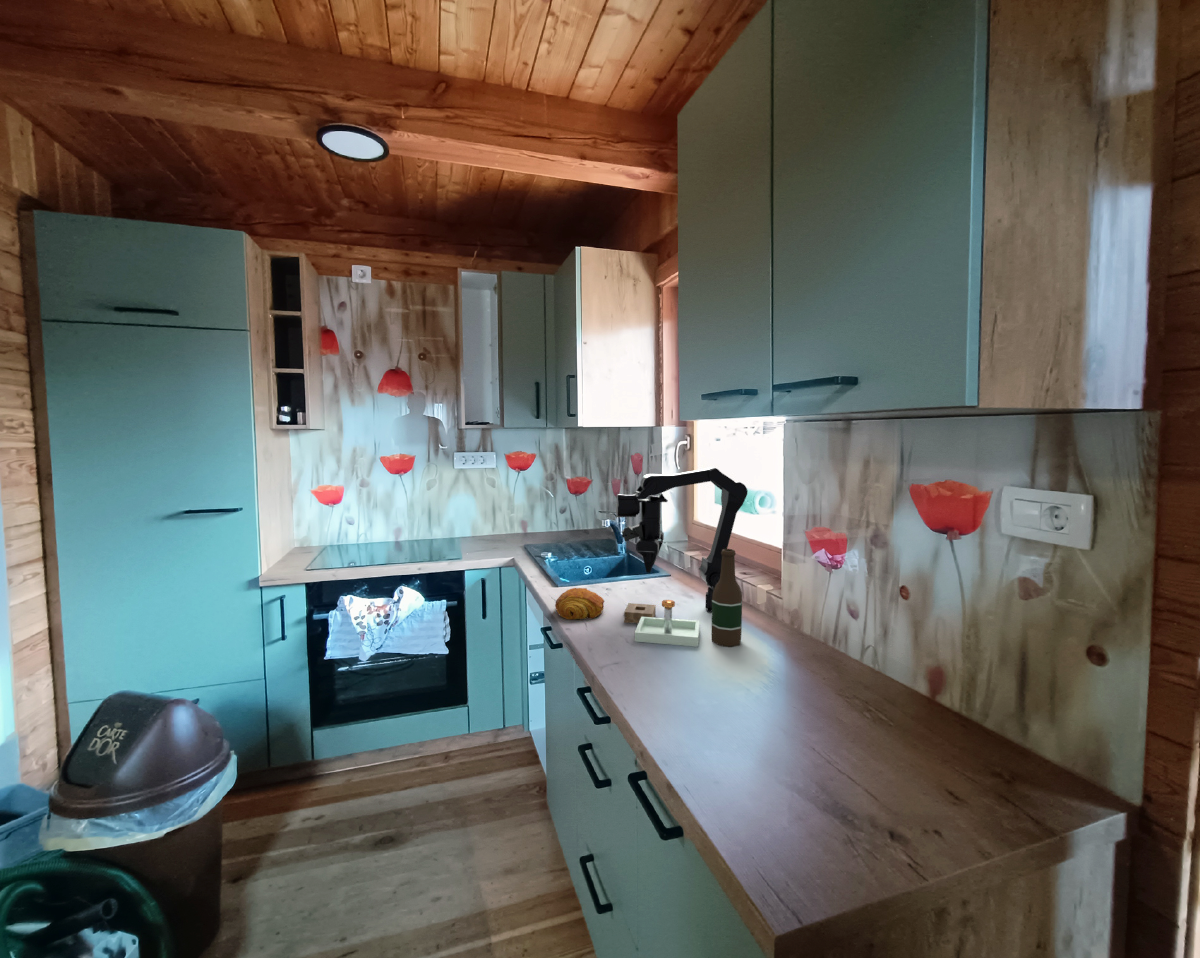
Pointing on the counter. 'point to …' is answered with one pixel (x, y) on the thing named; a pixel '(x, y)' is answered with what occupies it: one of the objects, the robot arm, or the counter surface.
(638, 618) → the block
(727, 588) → the beer bottle
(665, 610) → the pin
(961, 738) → the counter surface
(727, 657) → the counter surface
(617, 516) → the robot arm
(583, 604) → the croissant
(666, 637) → the tray
